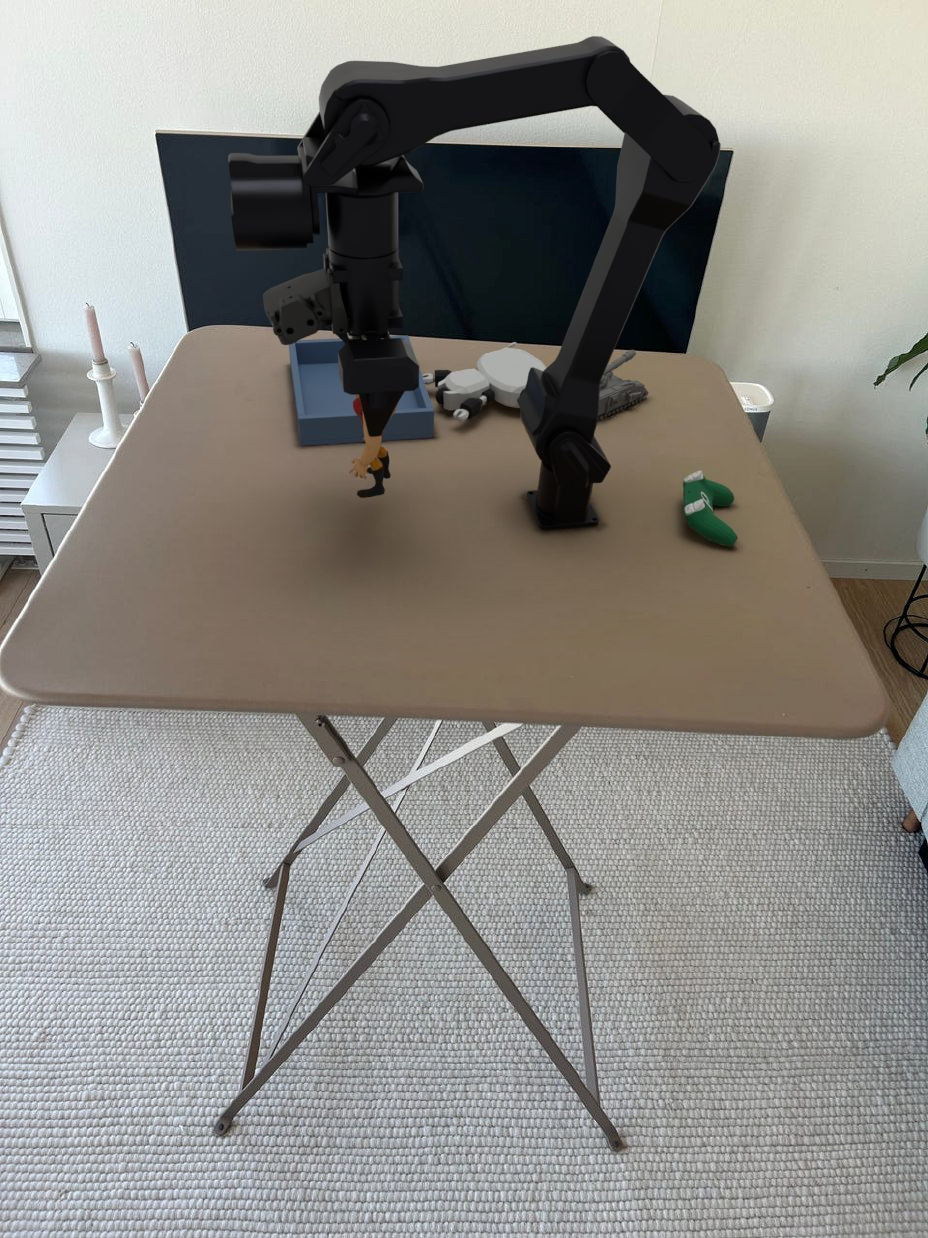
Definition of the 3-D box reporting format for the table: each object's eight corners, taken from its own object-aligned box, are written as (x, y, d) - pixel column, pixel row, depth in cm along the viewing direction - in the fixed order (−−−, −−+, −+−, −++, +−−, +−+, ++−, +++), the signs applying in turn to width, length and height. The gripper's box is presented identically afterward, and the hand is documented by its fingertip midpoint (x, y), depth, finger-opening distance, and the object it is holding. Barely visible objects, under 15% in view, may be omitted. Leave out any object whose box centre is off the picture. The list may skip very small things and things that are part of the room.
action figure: (367, 458, 93) (362, 320, 83) (401, 462, 92) (399, 323, 82) (346, 509, 86) (337, 364, 76) (382, 513, 85) (378, 368, 75)
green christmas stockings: (706, 511, 100) (676, 474, 97) (736, 494, 97) (706, 456, 95) (708, 561, 93) (676, 523, 90) (741, 544, 91) (709, 505, 88)
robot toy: (458, 442, 106) (566, 411, 110) (457, 409, 102) (568, 378, 107) (416, 395, 113) (518, 367, 118) (414, 363, 110) (519, 335, 115)
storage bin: (433, 437, 105) (434, 410, 102) (300, 446, 102) (298, 418, 99) (408, 360, 119) (408, 335, 116) (290, 366, 116) (288, 340, 113)
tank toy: (601, 372, 119) (607, 335, 115) (655, 400, 114) (663, 363, 110) (538, 398, 113) (542, 360, 109) (592, 429, 108) (598, 391, 104)
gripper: (257, 209, 77) (275, 372, 88) (270, 297, 64) (289, 477, 75) (383, 205, 79) (385, 366, 90) (421, 290, 66) (419, 466, 77)
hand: (368, 414), depth 83 cm, fingers closed on action figure, 7 cm apart
